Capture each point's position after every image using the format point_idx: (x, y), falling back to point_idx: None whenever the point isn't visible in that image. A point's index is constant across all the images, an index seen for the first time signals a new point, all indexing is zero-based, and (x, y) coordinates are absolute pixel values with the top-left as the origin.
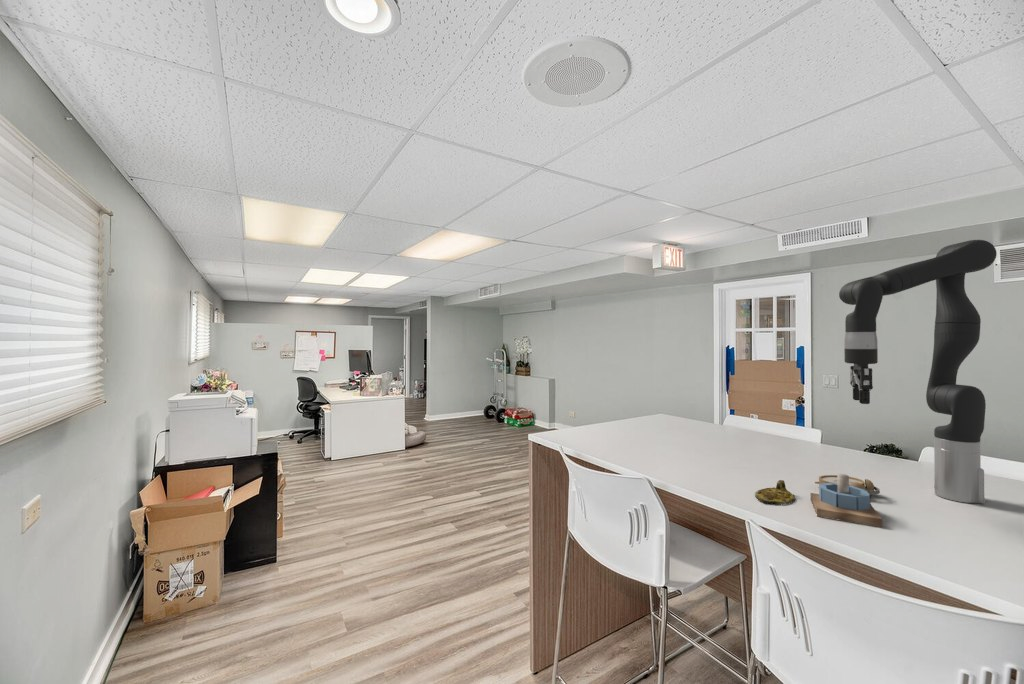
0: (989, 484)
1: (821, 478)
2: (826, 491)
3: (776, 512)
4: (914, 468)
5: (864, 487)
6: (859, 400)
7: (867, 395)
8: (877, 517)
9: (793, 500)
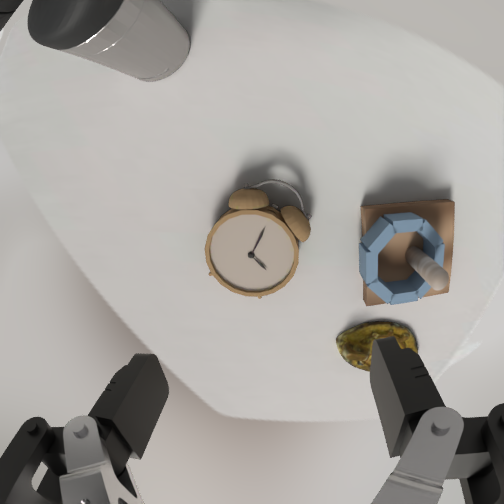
0: None
1: (245, 289)
2: (426, 290)
3: (445, 333)
4: (9, 128)
5: (295, 212)
6: (376, 394)
7: (434, 389)
8: (450, 207)
9: (388, 322)
